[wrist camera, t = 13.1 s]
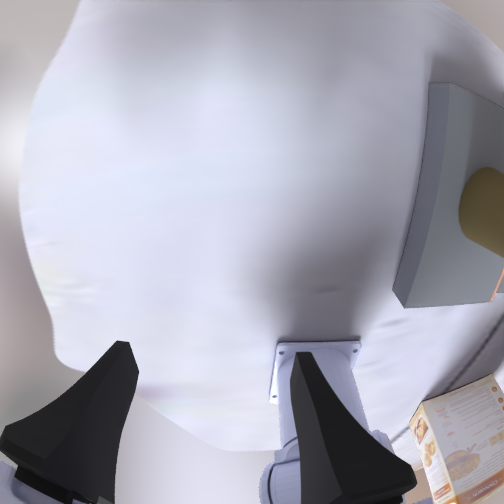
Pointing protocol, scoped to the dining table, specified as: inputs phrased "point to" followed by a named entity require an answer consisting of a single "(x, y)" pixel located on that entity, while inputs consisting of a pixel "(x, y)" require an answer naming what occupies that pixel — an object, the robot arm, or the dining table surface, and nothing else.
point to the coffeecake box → (462, 442)
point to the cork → (484, 209)
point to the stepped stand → (451, 204)
